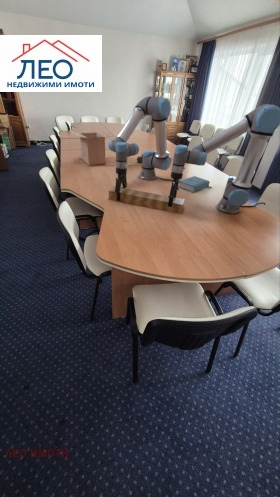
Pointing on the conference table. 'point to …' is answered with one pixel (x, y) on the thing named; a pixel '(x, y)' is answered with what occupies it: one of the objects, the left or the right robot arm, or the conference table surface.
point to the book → (193, 183)
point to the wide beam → (148, 199)
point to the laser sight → (140, 159)
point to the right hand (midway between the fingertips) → (171, 202)
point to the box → (92, 146)
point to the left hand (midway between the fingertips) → (121, 198)
